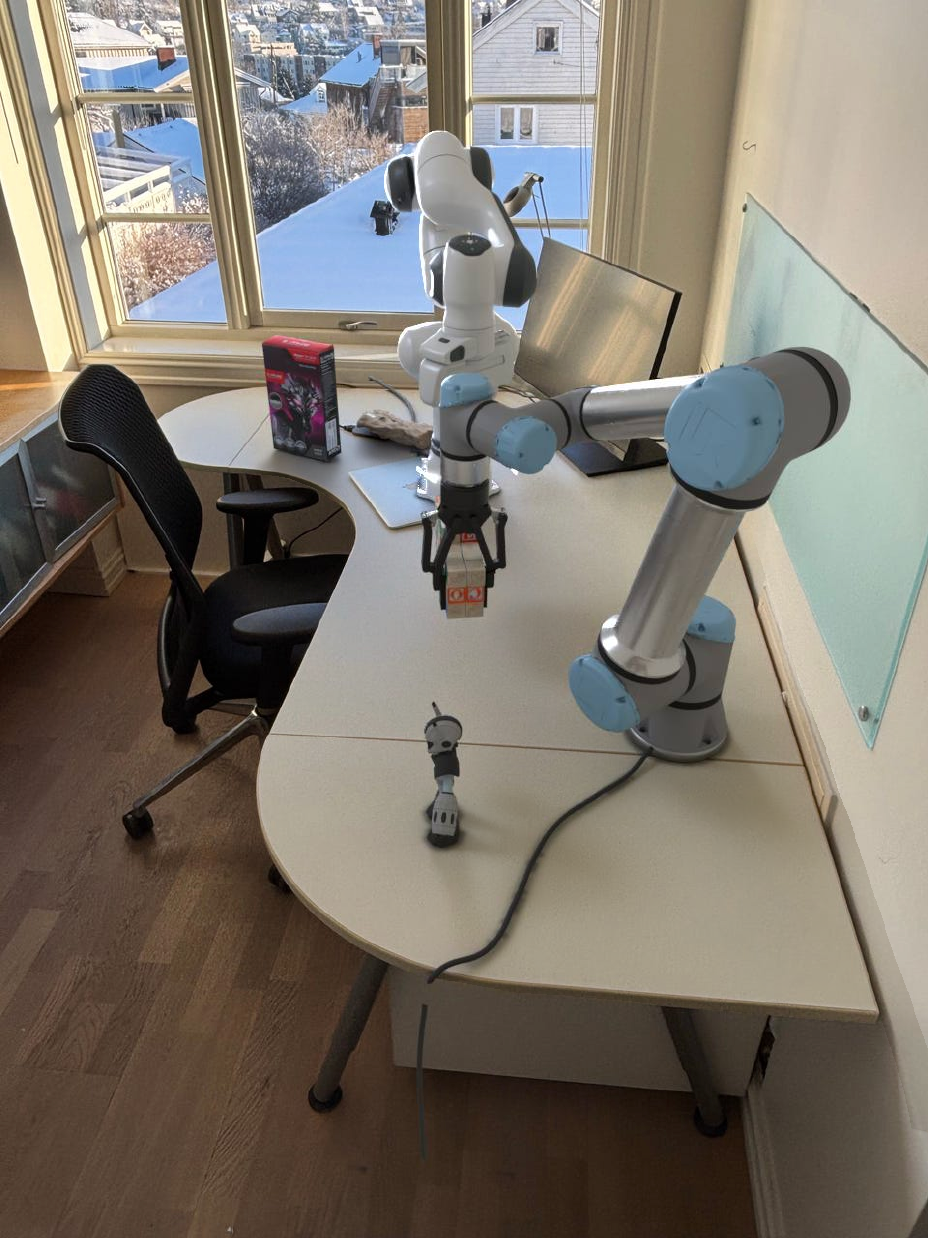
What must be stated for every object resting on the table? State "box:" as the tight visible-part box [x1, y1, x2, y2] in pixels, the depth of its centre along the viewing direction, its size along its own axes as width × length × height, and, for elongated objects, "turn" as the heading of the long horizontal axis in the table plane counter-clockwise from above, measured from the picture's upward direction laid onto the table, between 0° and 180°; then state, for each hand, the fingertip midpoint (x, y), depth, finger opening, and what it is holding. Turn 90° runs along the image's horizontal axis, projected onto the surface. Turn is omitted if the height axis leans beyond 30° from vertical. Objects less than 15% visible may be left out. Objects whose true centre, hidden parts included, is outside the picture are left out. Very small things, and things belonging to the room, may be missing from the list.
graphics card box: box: [261, 334, 342, 462], centre depth 222 cm, size 17×7×27 cm, turn 62°
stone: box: [356, 409, 434, 450], centre depth 235 cm, size 21×15×6 cm
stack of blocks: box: [434, 495, 486, 620], centre depth 156 cm, size 21×6×12 cm, turn 6°
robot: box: [423, 701, 463, 848], centre depth 121 cm, size 20×5×20 cm, turn 3°
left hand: (468, 417), depth 164 cm, fingers open, 8 cm apart
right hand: (463, 604), depth 153 cm, fingers closed on stack of blocks, 6 cm apart
